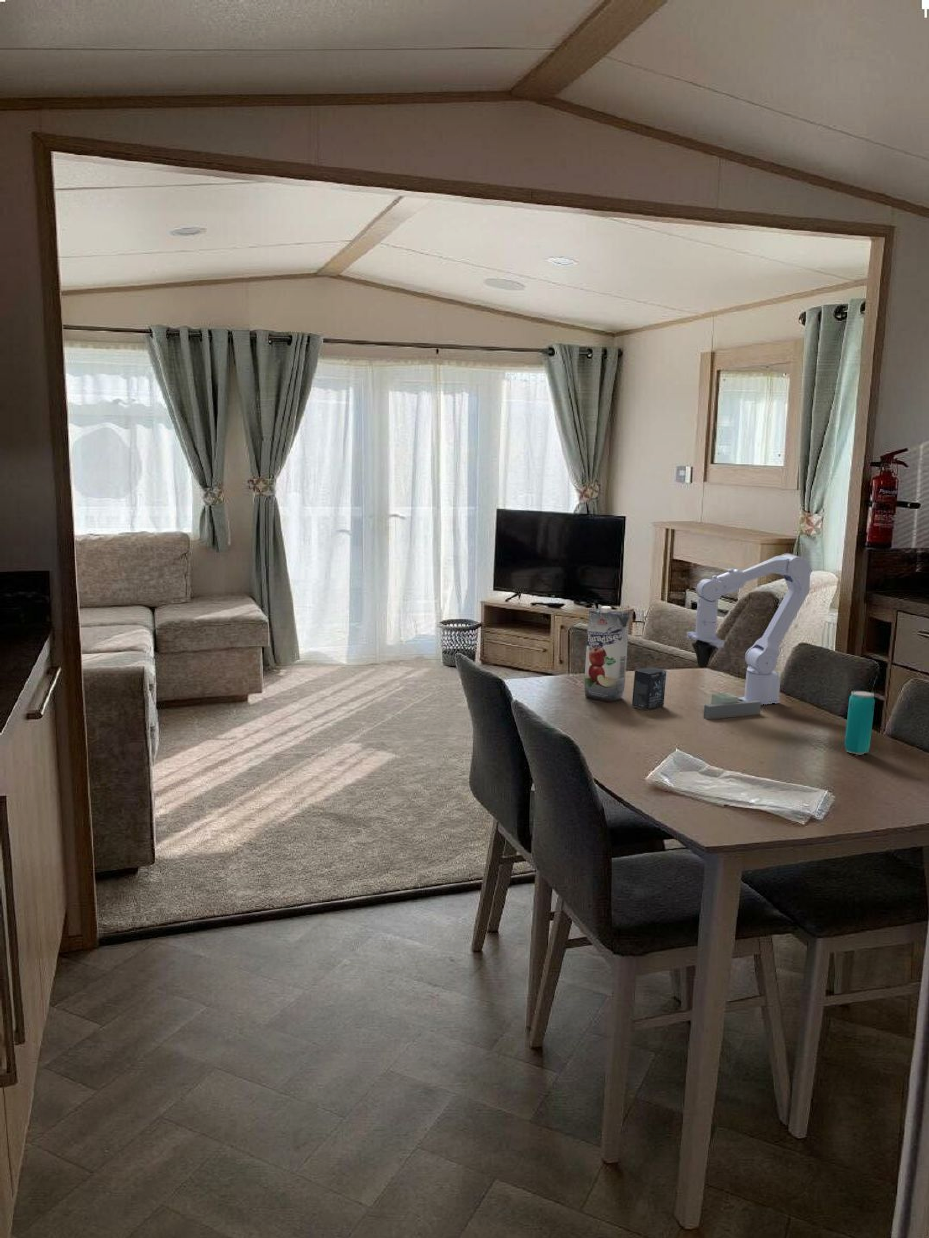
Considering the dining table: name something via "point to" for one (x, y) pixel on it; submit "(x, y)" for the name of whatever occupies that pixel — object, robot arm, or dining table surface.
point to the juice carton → (606, 653)
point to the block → (723, 698)
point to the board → (732, 709)
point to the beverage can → (859, 722)
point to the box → (649, 688)
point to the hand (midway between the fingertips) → (702, 667)
